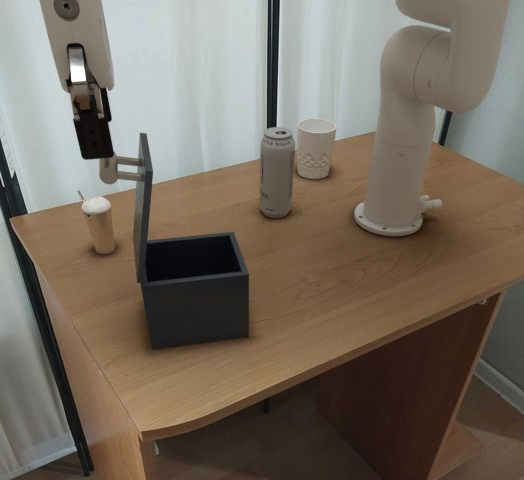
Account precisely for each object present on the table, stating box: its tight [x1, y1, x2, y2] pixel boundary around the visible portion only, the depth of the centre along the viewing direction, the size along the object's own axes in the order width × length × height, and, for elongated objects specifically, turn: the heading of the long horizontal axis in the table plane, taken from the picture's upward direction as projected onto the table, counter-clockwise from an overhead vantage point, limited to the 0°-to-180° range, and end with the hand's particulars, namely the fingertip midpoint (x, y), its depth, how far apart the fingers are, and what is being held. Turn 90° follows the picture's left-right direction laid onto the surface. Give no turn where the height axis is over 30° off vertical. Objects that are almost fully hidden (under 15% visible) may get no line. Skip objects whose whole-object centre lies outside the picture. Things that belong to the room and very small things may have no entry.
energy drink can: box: [259, 126, 296, 219], centre depth 97 cm, size 6×6×15 cm
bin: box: [140, 231, 250, 351], centre depth 74 cm, size 14×11×11 cm
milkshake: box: [77, 190, 116, 255], centre depth 88 cm, size 5×5×10 cm
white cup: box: [296, 117, 337, 180], centre depth 111 cm, size 8×8×10 cm
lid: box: [98, 132, 154, 284], centre depth 64 cm, size 14×11×5 cm
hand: (98, 138), depth 58 cm, fingers open, 9 cm apart
